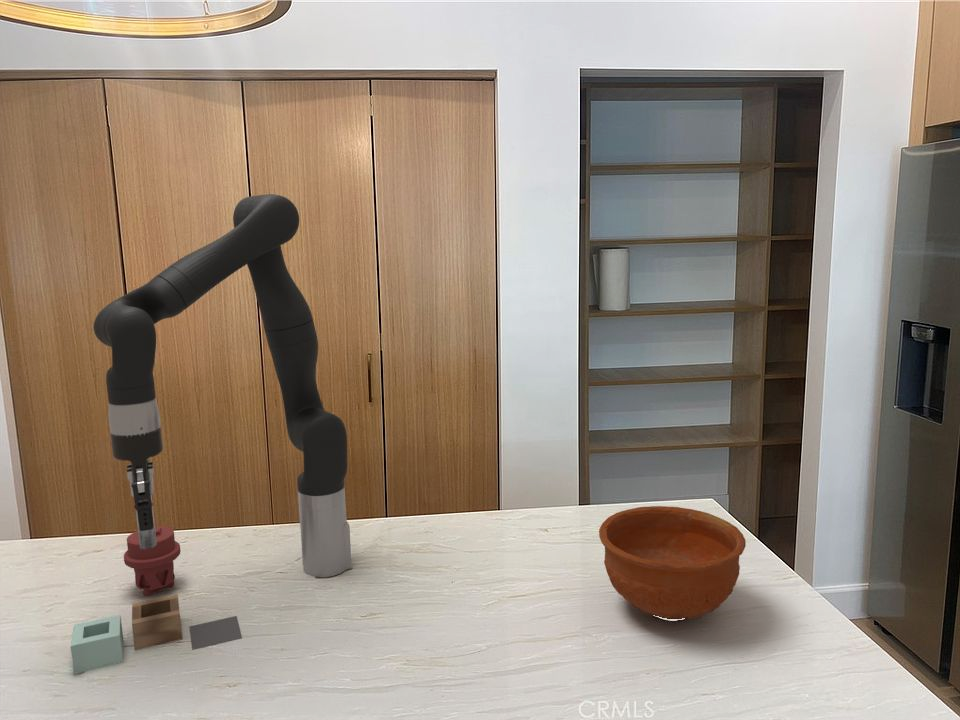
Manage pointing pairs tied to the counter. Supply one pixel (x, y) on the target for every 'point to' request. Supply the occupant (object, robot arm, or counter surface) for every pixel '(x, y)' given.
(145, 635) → the wooden square frame
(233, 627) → the mat
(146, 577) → the mechanical component
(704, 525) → the bowl
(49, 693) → the counter surface
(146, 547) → the cylinder
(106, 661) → the teal block
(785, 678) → the counter surface
